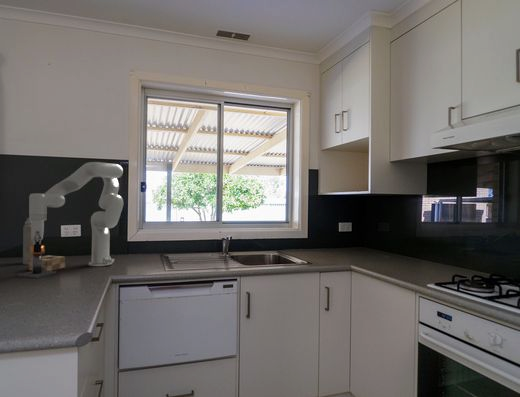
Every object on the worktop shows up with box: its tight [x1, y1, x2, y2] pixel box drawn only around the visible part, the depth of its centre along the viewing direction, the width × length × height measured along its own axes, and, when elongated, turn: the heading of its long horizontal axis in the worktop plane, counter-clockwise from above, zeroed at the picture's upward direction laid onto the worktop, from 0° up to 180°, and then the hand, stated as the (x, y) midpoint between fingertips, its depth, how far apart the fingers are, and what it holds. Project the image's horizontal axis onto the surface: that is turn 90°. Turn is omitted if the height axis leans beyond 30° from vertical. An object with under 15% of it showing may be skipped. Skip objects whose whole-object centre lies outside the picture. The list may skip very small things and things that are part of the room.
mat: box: [16, 270, 57, 279], centre depth 174 cm, size 12×12×1 cm
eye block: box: [28, 255, 66, 271], centre depth 189 cm, size 12×12×6 cm
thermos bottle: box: [22, 215, 34, 265], centre depth 202 cm, size 8×8×28 cm
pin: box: [30, 244, 45, 274], centre depth 174 cm, size 6×6×14 cm
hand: (37, 250), depth 174 cm, fingers open, 9 cm apart
